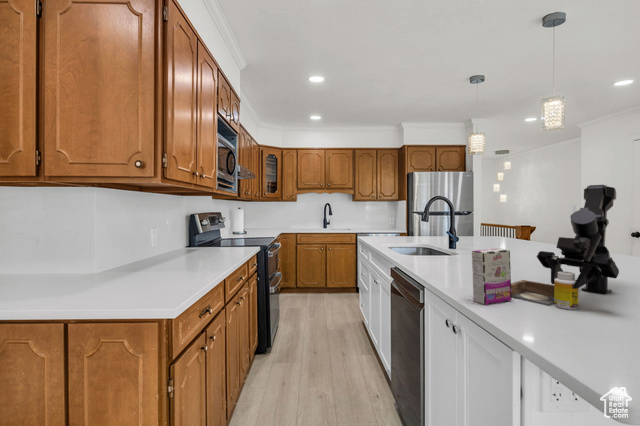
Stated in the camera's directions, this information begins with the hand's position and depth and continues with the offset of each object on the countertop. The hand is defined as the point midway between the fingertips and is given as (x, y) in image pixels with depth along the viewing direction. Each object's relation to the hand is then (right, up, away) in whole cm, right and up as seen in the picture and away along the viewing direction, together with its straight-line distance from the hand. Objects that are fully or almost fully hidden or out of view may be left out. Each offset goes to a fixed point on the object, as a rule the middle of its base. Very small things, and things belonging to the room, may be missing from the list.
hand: (563, 285), depth 89 cm
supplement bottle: (+1, -7, +1) cm, 7 cm away
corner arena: (-1, -7, +10) cm, 12 cm away
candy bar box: (-16, -7, +8) cm, 20 cm away
